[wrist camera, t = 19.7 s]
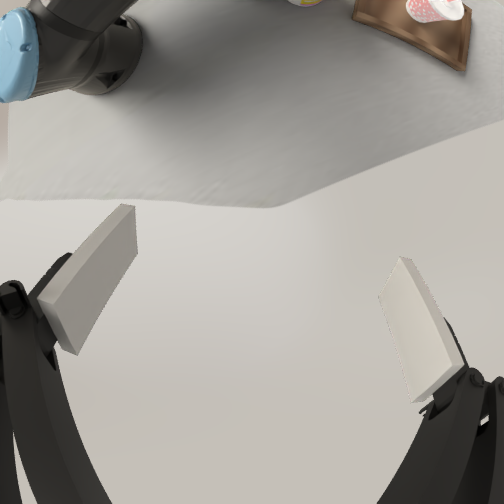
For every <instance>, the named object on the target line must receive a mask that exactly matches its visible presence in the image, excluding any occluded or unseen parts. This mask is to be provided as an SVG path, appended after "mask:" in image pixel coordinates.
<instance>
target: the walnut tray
mask: <svg viewBox="0 0 504 504" xmlns="http://www.w3.org/2000/svg"><path fill="white" fill-rule="evenodd" d="M407 1H408V0H356V1H355V6H354V11H353V17H352V20H354V21H357V22H360V23H363V24H365V25H368V26H371V27H373V28H376V29H378V30H381V31H383V32H385V33H388V34H390V35H392V36H395V37H397V38H399V39H401V40H403V41H405V42H407V43H409V44H411V45H413V46H415V47H417V48H419V49H421V50H423V51H425V52H427V53H428V54H430V55H432V56H434V57H435V58H437V59H439V60H441V61H442V62H444V63H446V64H447V65H449V66H450V67H452V68H454V69H455V70H457V71H465V68H466V62H467V55H468V48H469V40H470V29H471V15H472V9H470V8H469V7H467V6H466V5H465V4H463V3H462V4H463V7H464V15H463V17H462V18H461V19H459V20H456V21H455V20H454V21H452V20H440V21H432V22H426V23H422V22H418V21H416V20H415V19H413V18H412V17H411V16H410V14H409V13H408V12H407V9H406V2H407Z"/></svg>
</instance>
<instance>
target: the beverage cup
mask: <svg viewBox="0 0 504 504" xmlns="http://www.w3.org/2000/svg"><path fill="white" fill-rule="evenodd" d="M406 9H407V12H408V13H409V14H410V16H411V17H412V18H413V19H415V20H416V21H418V22H422V23H426V22H432V21H440V20H452V21H454V20H455V21H456V20H459V19H461V18H462V17H463V15H464V7H463V4H462V1H461V0H408V1H407V2H406Z"/></svg>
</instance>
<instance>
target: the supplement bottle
mask: <svg viewBox="0 0 504 504" xmlns="http://www.w3.org/2000/svg"><path fill="white" fill-rule="evenodd" d="M288 1H289V2H291V3H292V4H295V5H298V6H313V5H316V4H318V3H320V2H321V1H322V0H288Z"/></svg>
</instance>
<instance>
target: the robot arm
mask: <svg viewBox="0 0 504 504" xmlns="http://www.w3.org/2000/svg"><path fill="white" fill-rule="evenodd" d="M137 1H138V0H31V1H30V2H29V3H28V5H27V6H26V7H25V8H24V7H19V8H16V9H14V10H11V11H9V12H8V13H7V14H5V15H4V16H3V17H2V18H1V19H0V102H1V103H9V102H13V101H24V100H26V99H29V98H33V97H36V96H40V95H44V94H48V93H52V92H57V91H61V90H66V89H70V90H73V91H76V92H78V93H81V94H85V95H97V94H103V93H107V92H110V91H112V90H114V89H116V88H117V87H119V86H120V85H121V84H122V83H124V82H125V81H126V80H127V79H128V77H129V76H130V75H131V74H132V72H133V71H134V69H135V67H136V66H137V63H138V61H139V59H140V55H141V51H142V34H141V31H140V29H139V27H138V25H137V24H136V22H135V21H134V20H133V19H131V18H130V17H128V16H125V15H122V14H123V13H124V12H125V11H126V10H128V9H129V8H130V7H131V6H132V5H133V4H135V3H136V2H137ZM137 254H138V250H137V236H136V219H135V206H132V205H126V204H120V206H118V207H117V208H116V209H115V210H114V211H113V212H112V213H111V214H110V215H109V216H108V217H107V218H106V219H105V220H104V221H103V222H102V223H101V224H100V225H99V226H98V227H97V228H96V229H95V230H94V232H93V233H92V234H91V235H90V236H89V237H88V238H87V239H86V240H85V241H84V242H83V243H82V244H81V246H80V247H79V248H78V249H77V250H76V251H75V252H74V253H73V254H72V253H66V254H65V255H63V256H62V257H60V258H59V259H57V261H56V262H55V263H54V264H53V265H52V266H51V269H49V270H48V271H47V272H46V275H44V276H43V277H42V278H41V280H40V281H39V282H38V283H37V284H36V285H35V287H34V288H33V289H32V291H31V292H30V293H29V294H28V296H27V293H26V291H25V289H24V286H23V284H22V283H21V282H20V281H16V280H11V281H7V282H5V283H3V284H2V285H1V286H0V504H22V500H21V496H20V491H19V485H18V479H17V472H16V464H15V455H14V444H13V432H14V436H15V440H16V444H17V448H18V451H19V455H20V458H21V461H22V464H23V467H24V470H25V473H26V476H27V479H28V482H29V484H30V487H31V489H32V492H33V494H34V497H35V499H36V501H37V504H112V503H111V501H110V499H109V497H108V496H107V494H106V492H105V490H104V488H103V486H102V485H101V482H100V481H99V478H98V476H97V474H96V472H95V470H94V468H93V466H92V464H91V462H90V459H89V457H88V455H87V453H86V450H85V448H84V445H83V443H82V440H81V438H80V435H79V433H78V430H77V427H76V424H75V421H74V418H73V416H72V412H71V410H70V406H69V403H68V400H67V396H66V393H65V389H64V385H63V382H62V378H61V374H60V369H59V365H58V360H57V356H56V352H55V349H54V345H55V343H56V341H58V343H59V344H60V346H61V348H62V349H63V350H65V351H68V352H70V353H72V354H75V355H78V354H79V352H80V350H81V348H82V346H83V344H84V342H85V340H86V339H87V337H88V335H89V333H90V331H91V329H92V328H93V326H94V324H95V322H96V320H97V319H98V317H99V315H100V313H101V312H102V310H103V308H104V307H105V305H106V303H107V301H108V300H109V298H110V296H111V295H112V293H113V292H114V290H115V288H116V287H117V285H118V283H119V282H120V280H121V278H122V277H123V275H124V274H125V272H126V271H127V269H128V267H129V266H130V264H131V263H132V261H133V260H134V258H135V257H136V255H137ZM378 298H379V300H380V303H381V306H382V309H383V311H384V314H385V317H386V320H387V323H388V326H389V329H390V332H391V335H392V338H393V341H394V344H395V347H396V351H397V354H398V357H399V360H400V364H401V367H402V371H403V374H404V378H405V382H406V385H407V389H408V393H409V397H410V401H411V403H414V402H421V401H425V400H426V399H427V398H428V397H429V396H431V395H432V394H433V397H434V400H433V401H431V402H430V403H429V404H428V405H426V406H425V407H424V408H422V409H421V410H420V412H419V414H421V413H422V412H423V411H425V410H427V411H426V413H425V414H424V415H423V416H424V418H423V420H422V423H421V425H420V428H419V430H418V432H417V434H416V436H415V438H414V440H413V442H412V444H411V447H410V449H409V450H408V453H407V454H406V456H405V458H404V460H403V462H402V463H401V465H400V467H399V469H398V471H397V472H396V474H395V476H394V478H393V479H392V481H391V482H390V484H389V486H388V487H387V489H386V490H385V492H384V493H383V495H382V496H381V498H380V499H379V501H378V502H377V504H504V378H503V377H500V376H499V377H497V378H496V379H495V380H494V381H493V382H492V383H490V382H486V381H485V380H484V377H483V376H482V374H481V373H480V372H479V371H478V370H477V369H475V368H469V366H468V363H467V361H466V359H465V356H464V354H463V351H462V349H461V347H460V345H459V343H458V340H457V338H456V336H454V335H455V334H454V332H453V329H452V327H451V326H450V324H449V323H448V322H447V321H446V319H445V318H444V317H443V316H442V314H441V312H440V310H439V308H438V306H437V304H436V302H435V300H434V298H433V296H432V294H431V293H430V291H429V289H428V287H427V285H426V284H425V282H424V280H423V278H422V277H421V275H420V273H419V271H418V270H417V268H416V266H415V265H414V263H413V261H412V260H411V259H408V258H404V257H399V259H398V261H397V263H396V265H395V267H394V269H393V271H392V272H391V274H390V276H389V278H388V280H387V282H386V283H385V285H384V287H383V289H382V290H381V292H380V294H379V296H378ZM488 415H489V421H487V422H486V423H484V424H483V425H481V424H480V423H481V420H482V419H484V418H485V417H486V416H488Z"/></svg>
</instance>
